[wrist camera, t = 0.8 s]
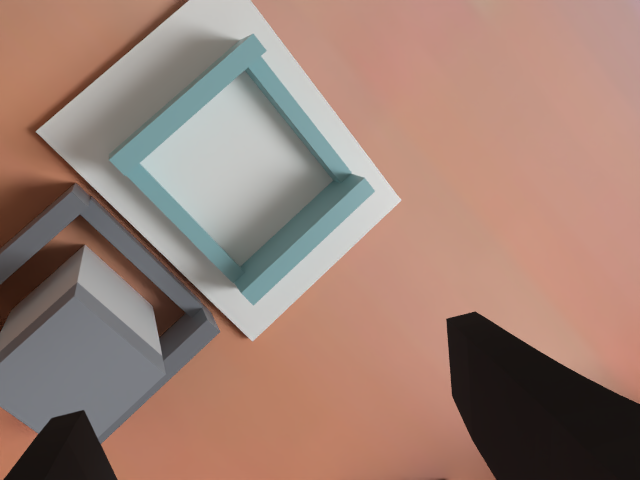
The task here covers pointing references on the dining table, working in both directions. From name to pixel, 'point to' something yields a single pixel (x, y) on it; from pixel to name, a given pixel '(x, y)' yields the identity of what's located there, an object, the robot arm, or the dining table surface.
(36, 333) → the plug
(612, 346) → the dining table surface
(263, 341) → the dining table surface
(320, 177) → the port
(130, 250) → the grey arch stand
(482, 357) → the robot arm
